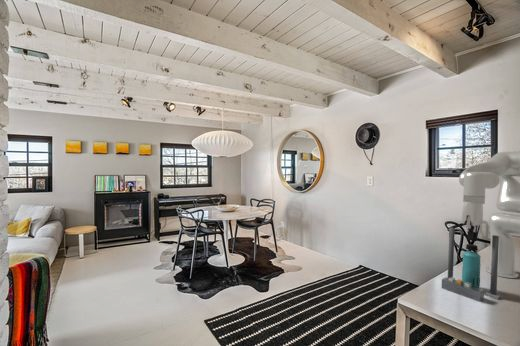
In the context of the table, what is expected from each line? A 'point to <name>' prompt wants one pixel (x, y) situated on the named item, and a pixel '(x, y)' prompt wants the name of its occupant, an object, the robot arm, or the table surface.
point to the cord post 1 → (451, 252)
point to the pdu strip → (463, 288)
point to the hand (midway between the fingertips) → (472, 240)
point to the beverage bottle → (471, 266)
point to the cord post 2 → (494, 269)
